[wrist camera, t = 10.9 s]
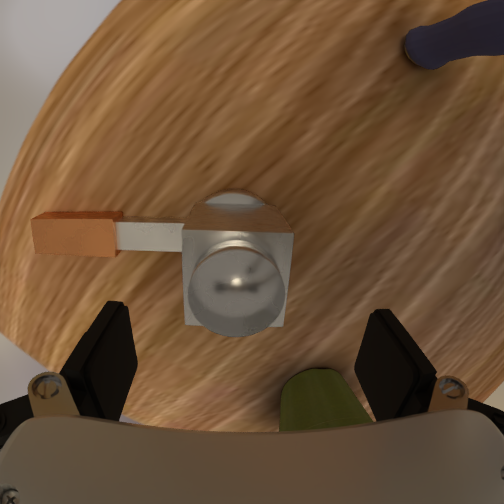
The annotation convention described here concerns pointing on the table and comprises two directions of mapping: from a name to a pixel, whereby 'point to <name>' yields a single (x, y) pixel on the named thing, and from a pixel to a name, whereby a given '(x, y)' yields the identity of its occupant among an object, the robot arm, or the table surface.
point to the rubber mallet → (459, 36)
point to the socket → (236, 267)
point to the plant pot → (319, 402)
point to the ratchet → (118, 229)
